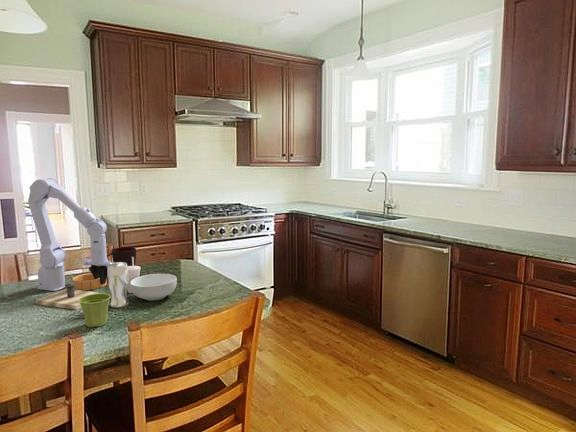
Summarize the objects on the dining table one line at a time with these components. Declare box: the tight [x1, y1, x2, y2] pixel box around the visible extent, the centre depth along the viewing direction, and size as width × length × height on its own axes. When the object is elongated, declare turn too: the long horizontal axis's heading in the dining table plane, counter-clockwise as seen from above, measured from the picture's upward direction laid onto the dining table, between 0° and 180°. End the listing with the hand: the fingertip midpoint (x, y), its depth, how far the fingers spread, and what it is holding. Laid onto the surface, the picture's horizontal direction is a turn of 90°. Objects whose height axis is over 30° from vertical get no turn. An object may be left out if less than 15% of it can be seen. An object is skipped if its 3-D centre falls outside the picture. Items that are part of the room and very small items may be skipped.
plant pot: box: [78, 292, 111, 328], centre depth 137 cm, size 9×9×9 cm
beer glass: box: [107, 262, 130, 308], centre depth 154 cm, size 7×7×15 cm
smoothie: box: [127, 257, 142, 294], centre depth 169 cm, size 6×6×14 cm
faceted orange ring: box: [71, 272, 108, 291], centre depth 177 cm, size 12×12×4 cm
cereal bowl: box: [130, 273, 178, 301], centre depth 163 cm, size 17×17×7 cm
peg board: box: [35, 282, 105, 310], centre depth 159 cm, size 18×14×6 cm
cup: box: [107, 246, 137, 267], centre depth 190 cm, size 10×14×12 cm
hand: (100, 283), depth 175 cm, fingers closed
